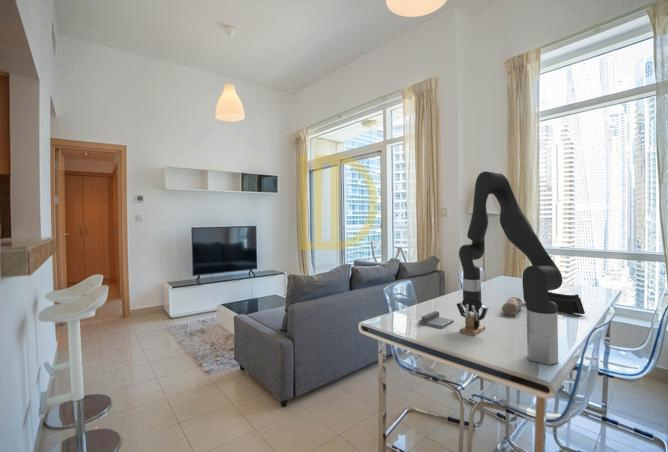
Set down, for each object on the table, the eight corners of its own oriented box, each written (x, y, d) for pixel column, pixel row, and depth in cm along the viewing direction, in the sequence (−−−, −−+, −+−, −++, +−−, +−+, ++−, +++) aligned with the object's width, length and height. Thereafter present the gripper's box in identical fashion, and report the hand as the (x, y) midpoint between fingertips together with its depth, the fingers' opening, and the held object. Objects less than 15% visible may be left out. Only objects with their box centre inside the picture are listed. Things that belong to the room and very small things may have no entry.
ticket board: (441, 328, 147) (441, 321, 147) (418, 323, 155) (418, 316, 155) (454, 322, 156) (454, 314, 156) (431, 317, 164) (431, 310, 164)
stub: (474, 335, 137) (474, 320, 137) (459, 332, 141) (459, 317, 141) (485, 328, 145) (484, 314, 145) (470, 325, 150) (470, 311, 150)
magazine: (590, 299, 159) (533, 273, 185) (586, 299, 157) (529, 274, 183) (579, 329, 163) (525, 300, 189) (576, 330, 162) (522, 300, 188)
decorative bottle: (518, 317, 162) (518, 304, 162) (501, 314, 167) (501, 302, 166) (525, 305, 182) (525, 294, 182) (510, 304, 187) (510, 292, 187)
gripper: (452, 288, 145) (453, 326, 146) (485, 292, 135) (485, 333, 136) (459, 285, 151) (460, 322, 151) (491, 289, 141) (492, 328, 141)
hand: (472, 327), depth 143 cm, fingers closed on stub, 3 cm apart
